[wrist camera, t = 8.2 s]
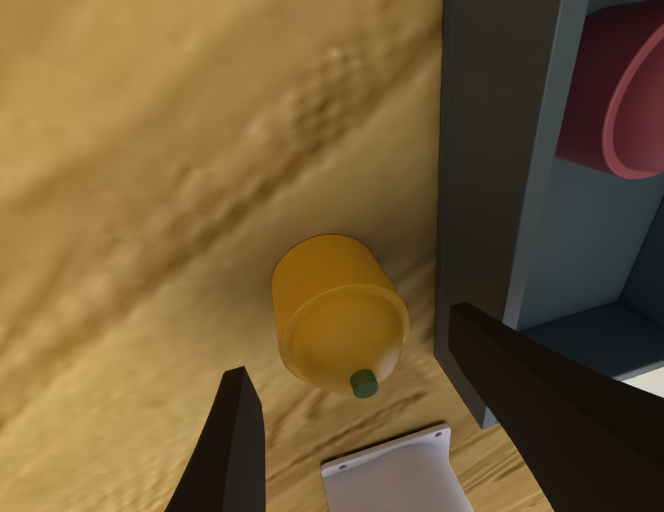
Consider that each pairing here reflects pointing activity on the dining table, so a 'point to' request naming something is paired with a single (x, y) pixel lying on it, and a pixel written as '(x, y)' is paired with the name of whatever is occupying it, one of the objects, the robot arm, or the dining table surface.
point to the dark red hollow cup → (618, 93)
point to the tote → (538, 200)
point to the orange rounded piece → (338, 316)
